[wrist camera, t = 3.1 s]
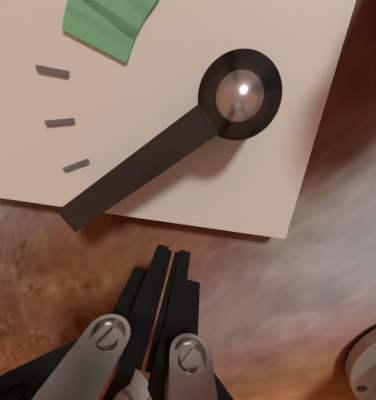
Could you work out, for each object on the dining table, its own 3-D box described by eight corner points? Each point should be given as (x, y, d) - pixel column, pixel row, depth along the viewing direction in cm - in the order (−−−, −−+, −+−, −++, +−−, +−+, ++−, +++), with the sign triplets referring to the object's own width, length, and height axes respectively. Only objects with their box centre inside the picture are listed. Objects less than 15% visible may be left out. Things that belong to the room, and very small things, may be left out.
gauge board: (278, 229, 15) (286, 241, 14) (-9, 188, 17) (-33, 195, 16) (358, -57, 10) (387, -95, 8) (-69, -70, 12) (-116, -103, 10)
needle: (246, 50, 10) (257, 24, 8) (279, 113, 11) (299, 108, 8) (73, 186, 14) (41, 198, 11) (106, 226, 15) (84, 246, 12)
